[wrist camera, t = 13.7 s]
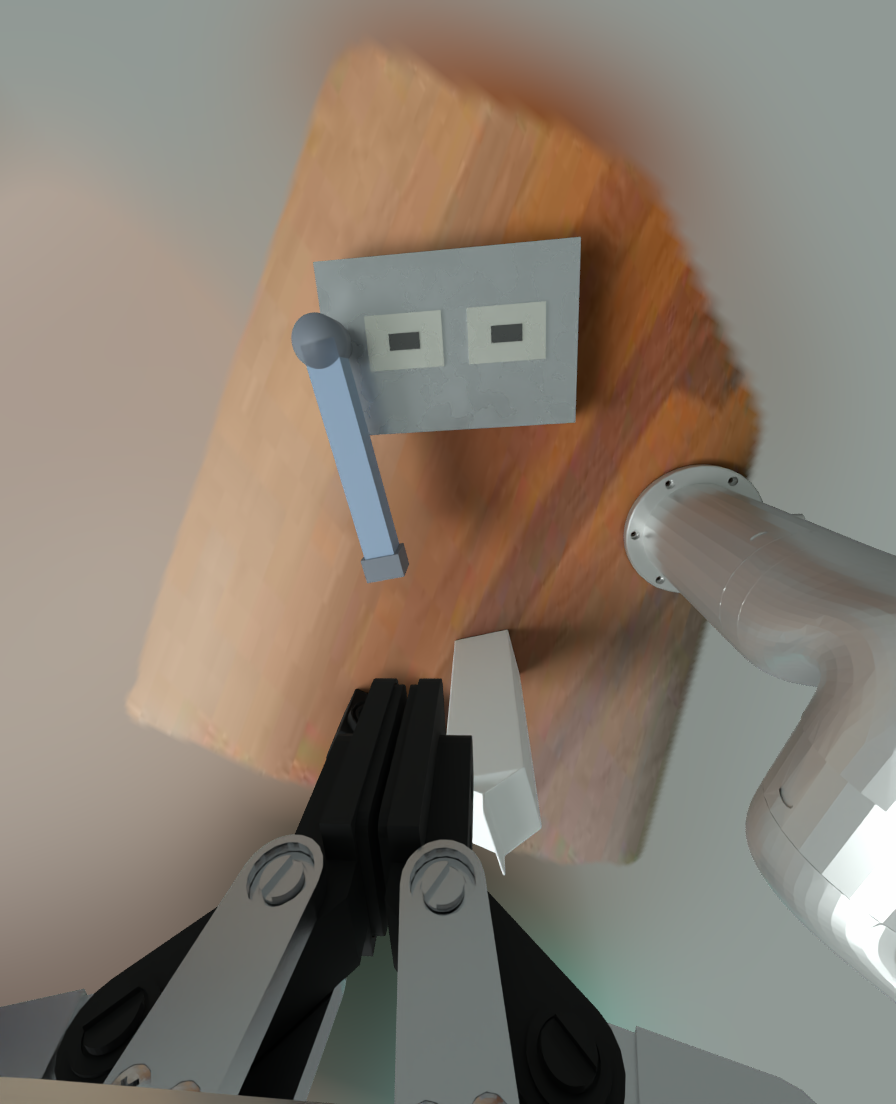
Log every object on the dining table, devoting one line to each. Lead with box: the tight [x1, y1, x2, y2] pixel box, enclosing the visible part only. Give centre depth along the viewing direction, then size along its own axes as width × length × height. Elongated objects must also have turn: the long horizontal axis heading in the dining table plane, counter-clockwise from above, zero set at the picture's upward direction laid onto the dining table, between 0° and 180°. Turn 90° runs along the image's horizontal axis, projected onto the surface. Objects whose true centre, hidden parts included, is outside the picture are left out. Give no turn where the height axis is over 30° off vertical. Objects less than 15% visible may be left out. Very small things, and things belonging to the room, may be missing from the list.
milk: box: [447, 630, 542, 875], centre depth 40 cm, size 6×6×22 cm
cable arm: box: [292, 313, 409, 583], centre depth 35 cm, size 20×4×3 cm, turn 13°
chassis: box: [313, 237, 581, 435], centre depth 37 cm, size 20×13×6 cm, turn 94°
